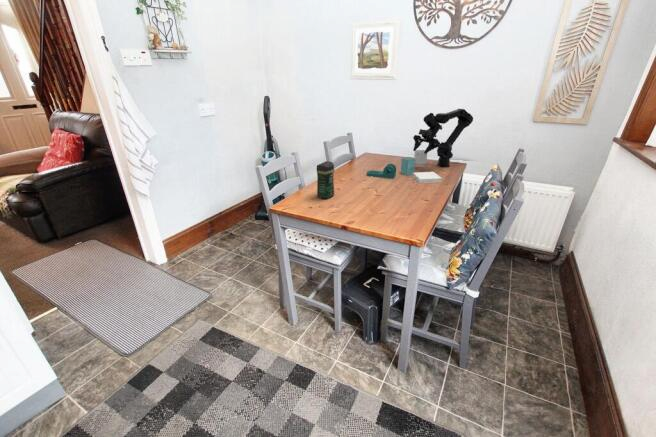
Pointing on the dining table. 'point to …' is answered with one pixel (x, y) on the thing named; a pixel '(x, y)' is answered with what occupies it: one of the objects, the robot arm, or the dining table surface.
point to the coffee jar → (325, 179)
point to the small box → (420, 156)
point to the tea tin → (407, 165)
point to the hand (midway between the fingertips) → (419, 152)
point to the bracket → (384, 172)
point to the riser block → (427, 177)
